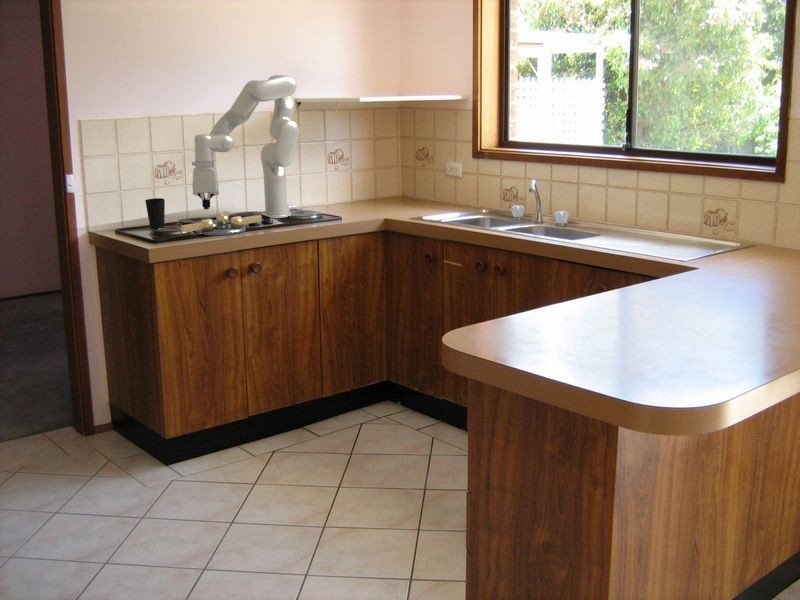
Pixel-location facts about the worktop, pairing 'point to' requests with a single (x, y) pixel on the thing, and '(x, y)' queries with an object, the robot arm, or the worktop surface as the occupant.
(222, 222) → the knob
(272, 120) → the robot arm
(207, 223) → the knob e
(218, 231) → the tribrach plate
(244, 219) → the brass lever handle
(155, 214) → the cup
